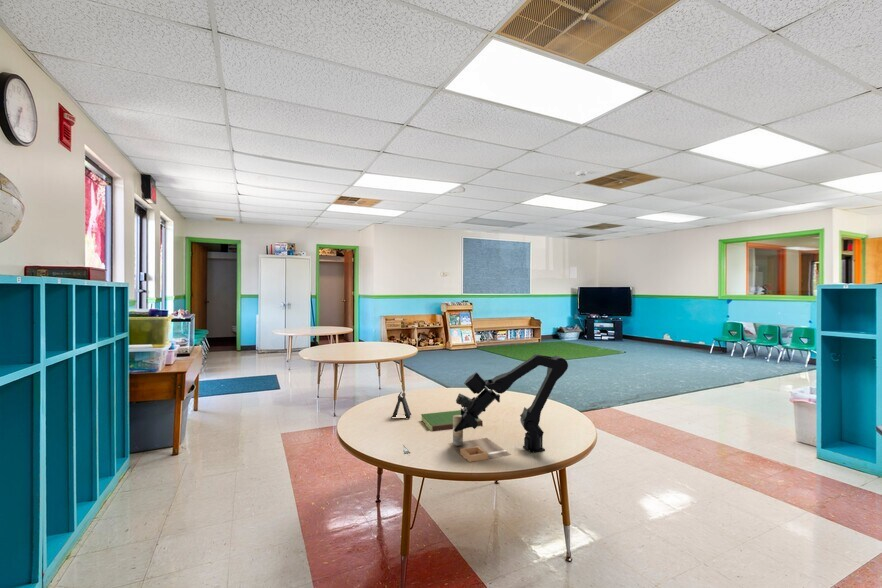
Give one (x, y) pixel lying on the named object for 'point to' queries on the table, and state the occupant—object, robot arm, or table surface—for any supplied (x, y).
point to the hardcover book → (442, 420)
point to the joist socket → (480, 456)
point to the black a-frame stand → (405, 406)
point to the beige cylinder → (459, 434)
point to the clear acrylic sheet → (484, 444)
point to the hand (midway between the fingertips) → (454, 429)
